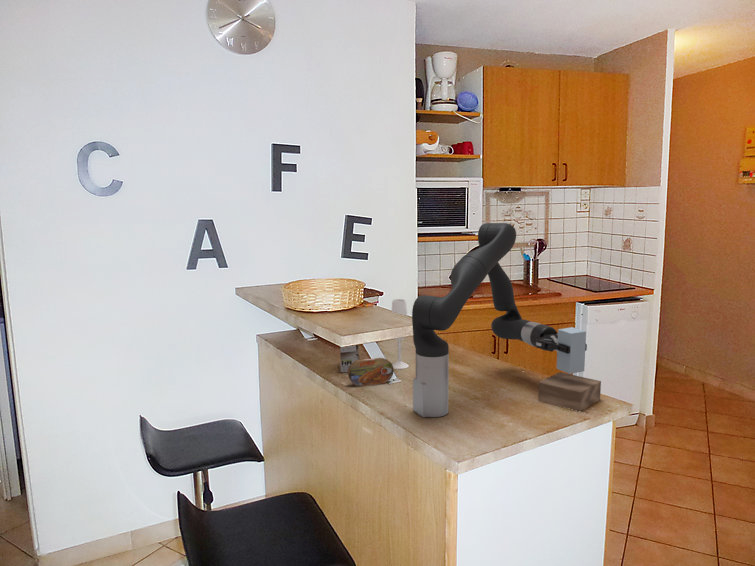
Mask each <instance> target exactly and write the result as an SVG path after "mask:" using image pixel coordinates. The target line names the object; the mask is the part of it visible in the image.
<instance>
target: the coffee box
mask: <svg viewBox="0 0 755 566" xmlns="http://www.w3.org/2000/svg"><path fill="white" fill-rule="evenodd" d="M339 347H340V346H339ZM339 351H340V372H341V373H348V368H349V366H350V365H351V364H352V363H353V362H354V361H357V360H360V344H359V345H353V346H347V347H340V350H339Z"/></svg>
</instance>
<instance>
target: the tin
mask: <svg viewBox="0 0 755 566" xmlns="http://www.w3.org/2000/svg"><path fill="white" fill-rule="evenodd" d="M392 364H393V363H391V361H390V360H389V359H386V358H384V357H373V358H365V359H359V360H357V361H354V362H353V363H352V364H351V365H350V366H349V368H348V372H347V376H348V379H349V381H350V383H352V384H353V385H354V386H357V387H365V386H374V385H376V386H377V385H383V384H386V383H388V382H389V381H390V380H391V379H392V378H393V375H394V370H395V369H394V368H393V366H392Z"/></svg>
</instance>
